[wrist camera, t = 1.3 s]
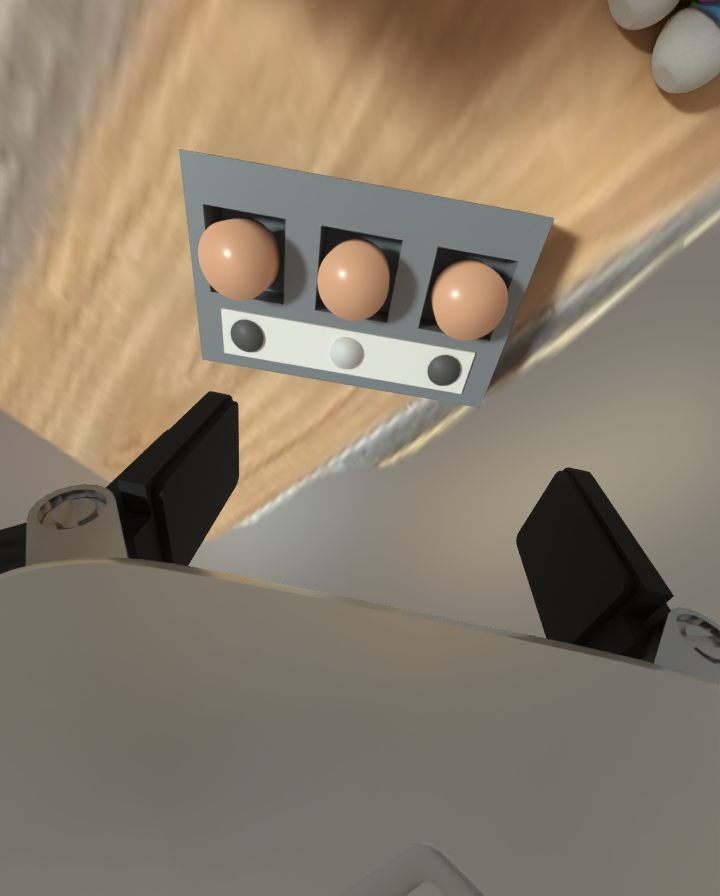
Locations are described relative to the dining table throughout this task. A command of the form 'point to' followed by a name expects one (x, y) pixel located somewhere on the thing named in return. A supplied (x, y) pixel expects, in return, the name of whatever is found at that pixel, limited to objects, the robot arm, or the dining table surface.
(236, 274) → the button
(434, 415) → the dining table surface
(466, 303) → the button
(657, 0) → the rainbow wheeled toy
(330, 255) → the button
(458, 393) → the button board
